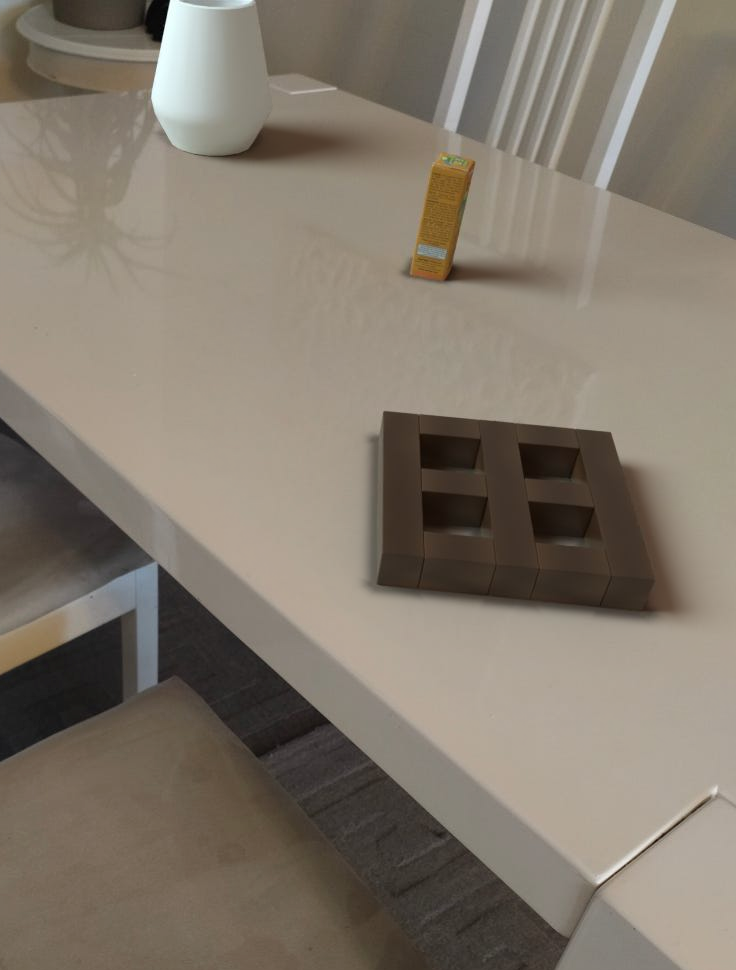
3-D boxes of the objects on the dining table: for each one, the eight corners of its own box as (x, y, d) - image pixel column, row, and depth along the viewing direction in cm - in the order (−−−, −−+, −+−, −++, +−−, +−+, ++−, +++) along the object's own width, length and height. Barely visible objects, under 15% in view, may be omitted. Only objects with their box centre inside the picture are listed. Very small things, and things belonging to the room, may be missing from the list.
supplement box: (445, 289, 86) (468, 170, 79) (408, 281, 87) (427, 162, 80) (453, 274, 88) (476, 157, 81) (416, 267, 89) (436, 150, 82)
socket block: (598, 469, 67) (611, 431, 65) (638, 619, 56) (655, 580, 54) (377, 448, 67) (383, 410, 65) (374, 592, 57) (381, 553, 54)
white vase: (127, 136, 110) (121, -9, 101) (217, 115, 117) (220, -22, 107) (204, 171, 104) (205, 19, 94) (294, 147, 110) (304, 3, 101)
